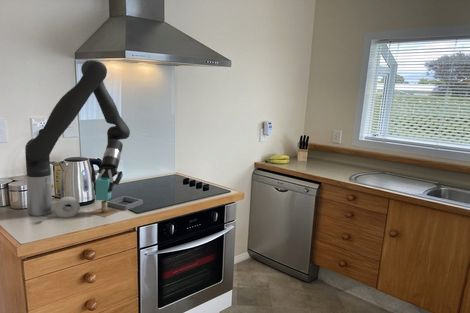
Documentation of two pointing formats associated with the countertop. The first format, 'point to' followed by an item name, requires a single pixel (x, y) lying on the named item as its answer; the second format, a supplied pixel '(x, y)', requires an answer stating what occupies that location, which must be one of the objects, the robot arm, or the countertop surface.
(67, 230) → the countertop surface
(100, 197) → the sleeve
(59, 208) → the donut
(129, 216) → the countertop surface
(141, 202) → the grey square ring
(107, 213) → the stake stand
